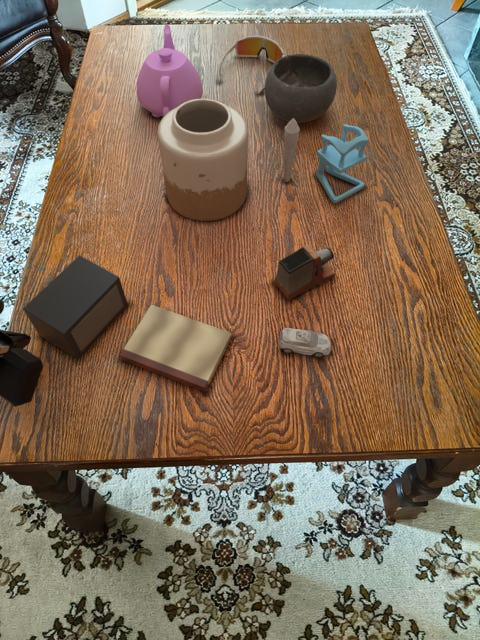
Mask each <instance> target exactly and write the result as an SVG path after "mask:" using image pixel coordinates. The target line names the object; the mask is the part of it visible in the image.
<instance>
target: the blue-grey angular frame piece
mask: <svg viewBox="0 0 480 640" xmlns="http://www.w3.org/2000/svg"><path fill="white" fill-rule="evenodd" d="M342 128H343V130H342V134H341V139H340V138H338V137H336V136H332V135H326V134H321V140H322V142H321V143H322V148H321V149H319V150H317V151H316V156H317V157H318V166H317V170H316V173H315V176H316V178H317V179H318V181H319V182H320V184H321V185H322V187H323V189H324V191H325V192H326V195H327V196H328V198H329V199H330V201H331V202H332V203H333V204H337V203H340V202H341V201H343V200H345V199H346V198H348V197H351V196H352V195H354V194H356V193H357V192H359V191H362V190H363V189H364V188H365V182H364V181H362V180H361V179H358V178H356V177H353V176H351V175H348V174H347V173H345V172H346V171H348V170H349V169H351V168H353V167H355V166H357V165H360V164H362V163H363V162H365V161H367V158H368V156H367V155H366V154H364V150H365V148H366V147H367V145H368V143H369V141H370V139H369V137H368V136H367V134H366V132H365V131H364V130H363V129H362V128H361V127H359V126H356V125H349V124H346V123H343V124H342ZM348 132H352V133H354V134H355V135H357V137H354V138H353V139H351V140H349V141H347V133H348ZM328 144H330V145H328ZM324 172H326V173H328V174H330V175H331V176H334V177H336V178H338V179H340V180H342V181H345V182H347V183H350V184H352V185H354V187H352V188H350V189H349V190H346V191H344V192H343V193H341V194H339V195H337V196H336V195H335V192H333V190H332V187H331V185H330V184H329V182H328V179H327V178H326V176H325V173H324Z"/></svg>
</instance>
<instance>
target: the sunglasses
mask: <svg viewBox="0 0 480 640" xmlns="http://www.w3.org/2000/svg"><path fill="white" fill-rule="evenodd" d="M234 50H235V55H236V57H238V58H258V57H260V55H261V53H262V51H263V50H264V52H265V58H266V59H267V60H268V61H269V62H271V63H273V64H274V63H275V62H276V61H277V60H278V59H280V58H282V57H284V56H286V55H285V51H284V49H283V48H282V47H281V45H280V43H278V42H277V41H276V40H274V39H273V38H270V37H268V36H264V35H258V34H256V35H255V34H253V35H245V36H244V37H240V38H238V39H237V40H236V41H234V42H233V43H232V45H231V46H229V48H228V49H227V50H226V52H225V53H224V55H223V57H222V59H221V61H220V63H219V66H218V83H219V84H220V83H221V69H222V66H223V63H224V61H225V59H226V57H227V56H228V55H229V54H230V53H232V52H233V51H234ZM263 92H265V85H264V86H263V87H262V88H261V89H260V90H259V91H258V92H257V94H258V95H260V94H262V93H263Z"/></svg>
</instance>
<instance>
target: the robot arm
mask: <svg viewBox="0 0 480 640" xmlns="http://www.w3.org/2000/svg"><path fill="white" fill-rule="evenodd" d="M4 310H5V302H4V300H2V299H0V315H2V313H3V311H4ZM31 340H32V336H30V335H28V334H27V333H21V332H16V331H11V330H5V329H0V397H1V398H2V399H3V400H5V401H6V402H8V403H9V404H10V405H12V406H13V407H15V408H17V407H20V406H23V405H25V404H28V403H31V402H33V398H34V396H35V392H36V390H37V387H38V383H39V381H40V378H41V375H42V373H43V372H42V371H43V369H44V364H43V360H42V359H41V358H39V357H38V356H36V355H35V354H33V353H32V352H30V351H29V350H27V349H25V348H26V347H27V346H29V344H30V343H31Z"/></svg>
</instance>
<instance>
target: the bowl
mask: <svg viewBox="0 0 480 640" xmlns="http://www.w3.org/2000/svg"><path fill="white" fill-rule="evenodd" d="M264 86H265V90H264V96H265V100H266V104H267V106H268V108H269V110H270V111H271V112H272V113H273V114H274V115H275V116H276V117H277V118H279V119H281V120H283V121H286V122H288V123H289V122H290V121H291V120H292V119H293V118H294V119H295V120H296V122H297V124H301V123H302V124H303V123H307V122H311V121H314V120H316V119H318V118H320V117H321V116H323V114H325V113H326V112H327V110H329V108H330V107H331V106H332V104H333V102H334V101H335V98H336V95H337V87H338V80H337V75H336V72H335V69H334V68H333V66H332V65H331V64H330V63H329V62H328V61H326V59H324V58H321V57H319V56H315V55H312V54H306V53H293V54H287V55H285V56H284V57H282V58H280V59H278V60H277V61H276V62H275V63H273V64H272V65H270V68H269V70H268V72H267V74H266V78H265V82H264Z"/></svg>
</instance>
